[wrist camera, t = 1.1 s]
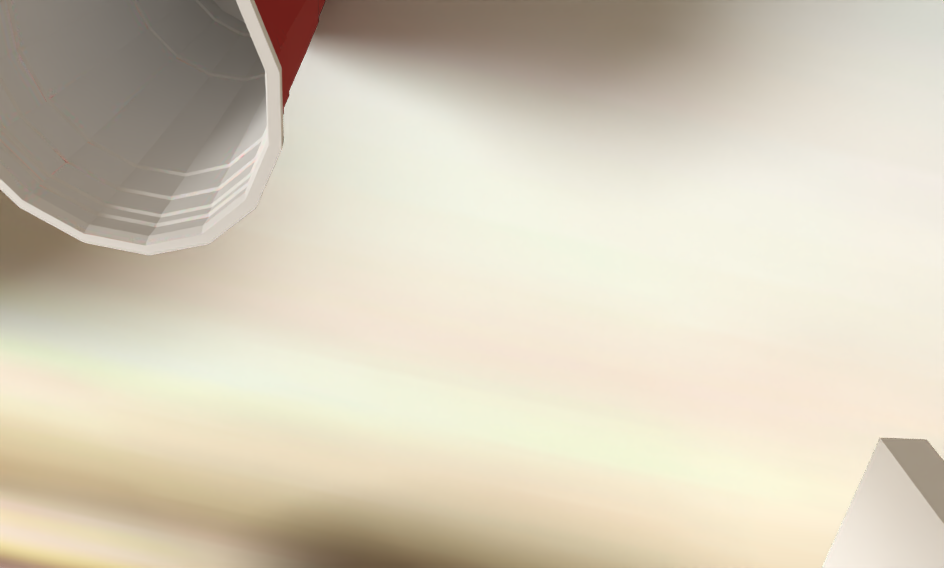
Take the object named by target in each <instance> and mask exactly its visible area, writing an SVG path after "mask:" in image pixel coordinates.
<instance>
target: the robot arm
mask: <svg viewBox="0 0 944 568" xmlns="http://www.w3.org/2000/svg"><path fill="white" fill-rule="evenodd" d="M822 568H944V461H943V459H942V458H941V457H940V456H939V454H938V453H937V452H936V451H935V449H934V448H933V447H932V446H931V445H930V443H929V442H928V441H927V440H924V439H898V438H880V439H879V441H878V443H877V445H876V448H875V450H874V452H873V454H872V457H871V459H870V461H869V463H868V465H867V468H866V470H865V472H864V474H863V477H862V479H861V481H860V483H859V485H858V488H857V490H856V492H855V494H854V497H853V499H852V501H851V503H850V506H849V508H848V510H847V512H846V514H845V517H844V519H843V521H842V523H841V526H840V528H839V530H838V532H837V535H836V537H835V539H834V541H833V543H832V546H831V548H830V550H829V552H828V555H827V557H826V559H825V561H824V564H823V566H822Z"/></svg>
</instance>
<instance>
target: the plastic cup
mask: <svg viewBox="0 0 944 568" xmlns="http://www.w3.org/2000/svg"><path fill="white" fill-rule="evenodd" d="M325 1H326V0H0V190H1V191H3V192H4V193H5V194H6V195H7V196H8V197H9V198H10V199H11V200H12V201H13V202H14V203H15V204H16V205H17V206H18V207H19V208H21V209H23V210H25V211H27V212H28V213H30V214H32V215H34V216H36V217H38V218H39V219H41V220H43V221H45V222H47V223H49V224H50V225H52V226H54V227H56V228H58V229H60V230H61V231H63V232H65V233H67V234H69V235H70V236H72V237H74V238H76V239H78V240H80V241H81V242H83V243H88V244H93V245H98V246H103V247H108V248H113V249H118V250H123V251H128V252H134V253H139V254H144V255H149V256H150V255H155V254H160V253H165V252H171V251H176V250H181V249H187V248H192V247H197V246H203V245H208V244H210V243H211V242H213V241H214V240H215V239H217V238H218V237H219V236H220V235H222V234H223V233H224V232H226V231H227V230H228V229H229V228H231V227H232V226H233V225H235V224H236V223H237V222H239V221H240V220H241V219H242V218H244V217H245V216H246V215H248V214H249V213H250V212H252V211H253V210H254V209H255V208H256V206H257V204H258V202H259V200H260V197H261V195H262V193H263V191H264V188H265V186H266V184H267V181H268V179H269V177H270V175H271V172H272V170H273V168H274V165H275V163H276V161H277V159H278V156H279V154H280V152H281V150H282V146H283V142H284V136H283V114H284V106H285V104H286V102H287V99H288V97H289V90H290V88H291V85H292V83H293V81H294V79H295V76H296V74H297V72H298V70H299V67H300V65H301V63H302V61H303V58H304V56H305V54H306V51H307V49H308V46H309V44H310V42H311V39H312V37H313V34H314V32H315V29H316V27H317V24H318V22H319V15H320V13H321V10H322V8H323V5H324V3H325Z"/></svg>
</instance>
